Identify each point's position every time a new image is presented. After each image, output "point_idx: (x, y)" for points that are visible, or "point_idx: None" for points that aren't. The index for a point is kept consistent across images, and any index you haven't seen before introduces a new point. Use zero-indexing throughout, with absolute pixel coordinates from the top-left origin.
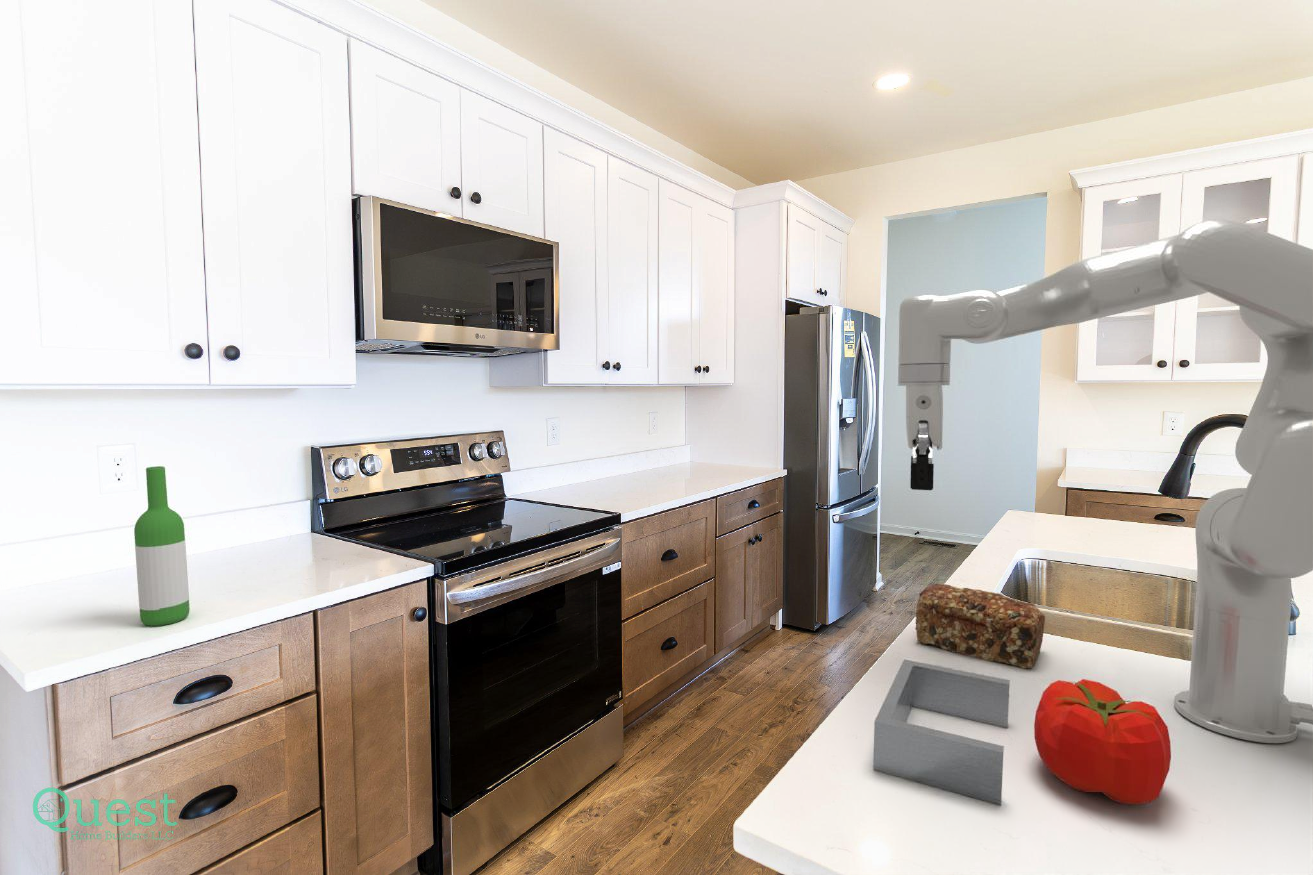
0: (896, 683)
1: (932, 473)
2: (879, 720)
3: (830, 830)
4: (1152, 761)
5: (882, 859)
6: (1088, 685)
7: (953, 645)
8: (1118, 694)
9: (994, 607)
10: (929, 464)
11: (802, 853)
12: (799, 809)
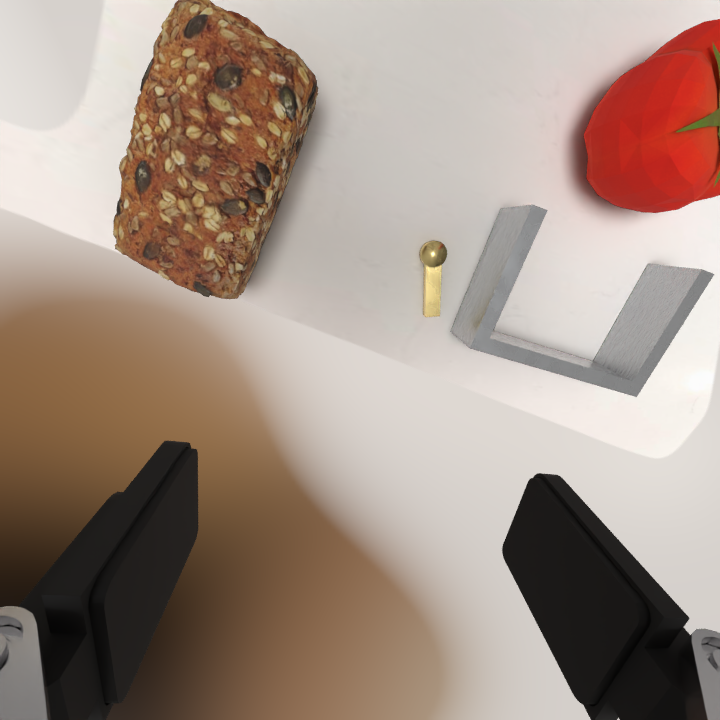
0: (546, 365)
1: (623, 552)
2: (634, 391)
3: (674, 410)
4: None
5: (709, 376)
6: (700, 110)
7: (268, 230)
8: (699, 57)
9: (264, 143)
10: (667, 634)
11: (695, 427)
12: (647, 431)
